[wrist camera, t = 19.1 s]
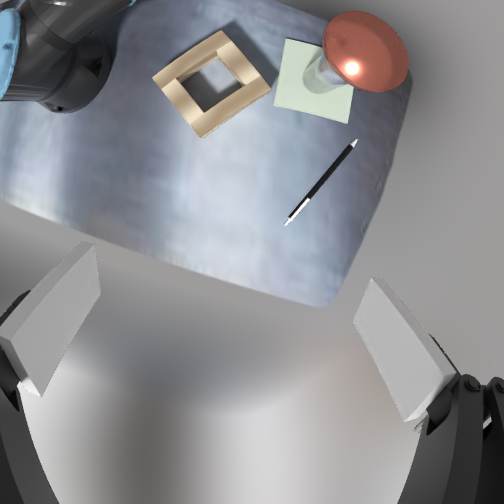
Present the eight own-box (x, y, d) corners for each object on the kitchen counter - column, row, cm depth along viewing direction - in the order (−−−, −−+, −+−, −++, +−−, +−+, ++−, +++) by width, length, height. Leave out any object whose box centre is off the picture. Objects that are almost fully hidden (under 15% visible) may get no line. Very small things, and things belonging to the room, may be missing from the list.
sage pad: (273, 105, 37) (273, 105, 36) (285, 39, 32) (286, 38, 31) (345, 123, 38) (347, 123, 37) (355, 60, 33) (357, 59, 33)
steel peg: (277, 70, 34) (306, 27, 17) (323, 46, 32) (374, 3, 15) (311, 116, 37) (362, 105, 20) (354, 91, 35) (422, 74, 19)
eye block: (159, 82, 34) (151, 77, 30) (222, 39, 32) (221, 30, 28) (203, 137, 38) (199, 137, 34) (268, 93, 36) (271, 89, 32)
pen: (282, 222, 45) (283, 224, 44) (354, 136, 39) (357, 136, 38) (286, 226, 45) (287, 228, 44) (358, 140, 39) (361, 140, 38)
